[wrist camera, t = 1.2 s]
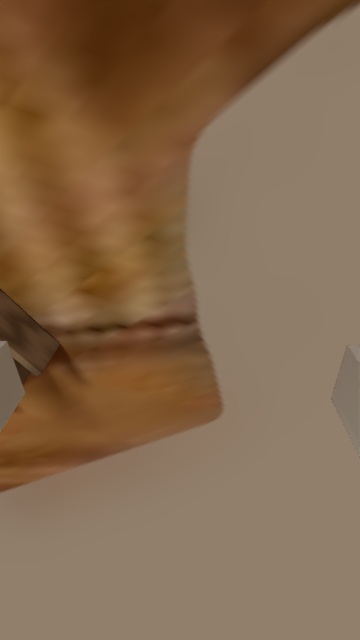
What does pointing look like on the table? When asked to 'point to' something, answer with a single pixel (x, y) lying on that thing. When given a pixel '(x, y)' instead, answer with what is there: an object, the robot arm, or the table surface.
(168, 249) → the table surface
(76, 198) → the table surface
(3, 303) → the rack
